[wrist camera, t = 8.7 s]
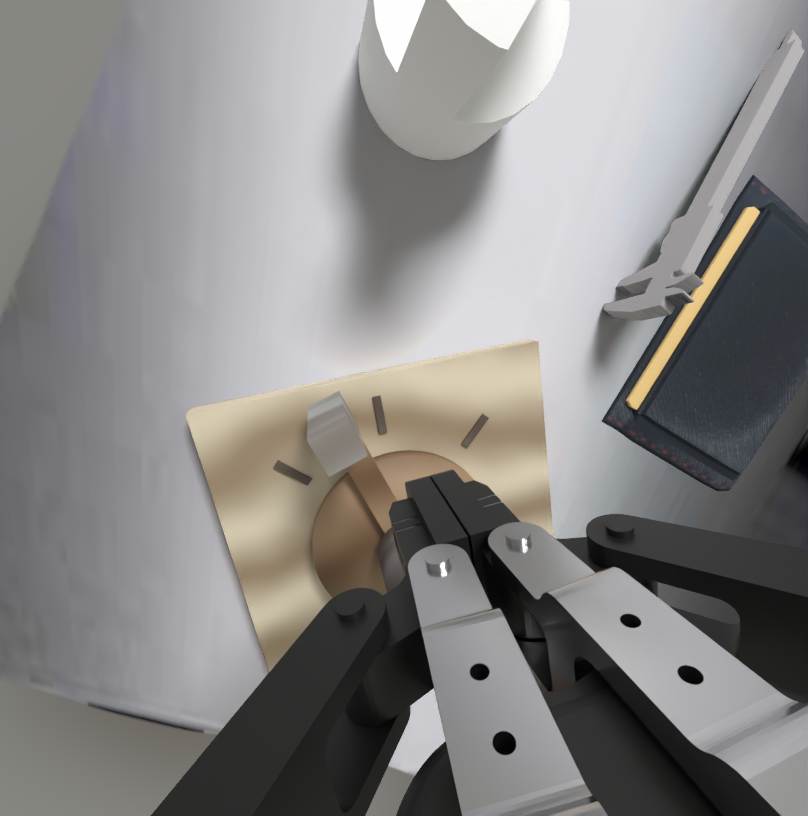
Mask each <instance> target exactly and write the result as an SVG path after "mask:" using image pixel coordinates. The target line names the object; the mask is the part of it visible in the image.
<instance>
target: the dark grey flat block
mask: <svg viewBox="0 0 808 816" xmlns="http://www.w3.org/2000/svg"><path fill="white" fill-rule="evenodd" d="M694 274H695V275H696V276H697V277H699V278H700V279H701V280H702V281H703V282H704V284H702V285H701V286H699V287H698V288H696V289H694V290H692V291H691V292H689V293H687V294H688V295H689V296H690V297H692V298H693V299H694V302H693V303H688V304H682V305H677V306H676V307H675V308H674V310H673V312H672V314H670V315H667V316H666V317H665V319H664V320H663V322H662V324H661V325H660V327H659V329H658V330H657V332H656V333H655V335H654V337H653V338H652V340H651V342H650V343H649V345H648V347H647V348H646V350H645V351H644V353H643V355H642V356H641V358H640V360H639V361H638V363H637V364H636V366H635V368H634V369H633V371H632V373H631V374H630V376H629V377H628V379H627V381H626V382H625V384H624V386H623V387H622V389H621V391H620V392H619V394H618V395H617V397H616V399H615V400H614V402H613V404H612V405H611V407H610V408H609V410H608V412H607V413H606V415H605V417H604V418H603V420H602V421H603V422H605V423H606V424H608V425H610V426H612V427H614V428H615V429H617V430H618V431H620V432H621V433H622V434H624V435H625V436H626V437H628V438H629V439H630V440H632V441H634V442H635V443H637V444H638V445H640V446H642V447H643V448H645V449H647V450H648V451H650V452H652V453H653V454H655V455H657V456H658V457H660V458H662V459H663V460H665V461H667V462H668V463H670V464H672V465H673V466H675V467H677V468H678V469H680V470H682V471H683V472H685V473H687V474H689V475H690V476H692V477H694V478H695V479H697V480H699V481H700V482H702V483H704V484H706V485H708V486H710V487H711V488H713V489H715V490H717V491H727V490H730V489H731V487H732V486H733V485H734V483H735V482H736V480H737V479H738V478H739V476H740V475H741V474H742V472H743V471H744V469H745V468H746V466H747V465H748V463H749V462H750V460H751V459H752V458H753V456H754V455H755V453H756V452H757V450H758V449H759V447H760V446H761V444H762V443H763V441H764V440H765V438H766V437H767V435H768V433H769V432H770V430H771V429H772V427H773V426H774V425H775V423H776V422H777V420H778V419H779V417H780V416H781V414H782V413H783V411H784V410H785V408H786V407H787V405H788V404H789V402H790V401H791V399H792V398H793V396H794V395H795V393H796V392H797V390H798V389H799V388H800V386H801V385H802V383H803V382H804V380H805V379H806V377H807V376H808V225H807V224H806V223H805V222H804V221H803V220H802V219H801V218H800V217H799V216H798V215H797V214H796V213H795V212H794V211H793V210H792V209H791V208H789V207H788V206H787V205H786V204H785V203H784V202H783V201H782V200H781V199H780V198H779V197H777V196H776V195H775V194H774V193H773V192H772V191H771V190H769V189H768V188H767V187H766V186H765V185H764V184H763V183H762V182H761V181H760V180H758V179H757V178H756V177H755V176H754V175H752V177H751V178H750V180H749V181H748V183H747V184H746V186H745V187H744V189H743V190H742V192H741V193H740V195H739V196H738V198H737V199H736V201H735V202H734V204H733V206H732V208H731V209H730V211H729V213H728V215H727V216H726V218H725V220H724V222H723V223H722V225H721V227H720V229H719V230H718V232H717V234H716V236H715V237H714V239H713V241H712V242H711V244H710V245H709V247H708V249H707V250H706V252H705V254H704V255H703V257H702V259H701V261H700V263H699V265H698V267H697V269H696V271H695V273H694Z"/></svg>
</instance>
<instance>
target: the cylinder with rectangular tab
mask: <svg viewBox="0 0 808 816" xmlns="http://www.w3.org/2000/svg"><path fill="white" fill-rule="evenodd" d="M568 26H569V0H368V2H367V7H366V12H365V17H364V22H363V27H362V33H361V39H360V47H359V56H358V66H359V76H360V85H361V89H362V91H363V94H364V97H365V100H366V103H367V106H368V109H369V111H370V112H371V114H372V116H373V117H374V119H375V121H376V122H377V124H378V126H379V127H380V129H381V130H382V131H383V132H384V133H385V134H386V135H387V136H388V137H389V138H390V139H391V140H392V141H393V142H394V143H395V144H396V145H397V146H399V147H401V148H402V149H404V150H406V151H408V152H409V153H411V154H413V155H415V156H418V157H422V158H426V159H430V160H451V159H455V158H458V157H461V156H463V155H466V154H469V153H471V152H472V151H474V150H475V149H476V148H478V147H479V146H480V145H482V144H483V143H484V142H486V141H487V140H488V139H489V138H490V137H492V136H493V135H494V134H495V133H496V132H497V131H499V130H500V129H501V128H502V127H503V126H504V125H505V124H507V123H508V122H509V121H510V120H511V119H512V118H514V117H515V116H516V115H517V114H518V113H519V112H521V111H522V110H523V109H524V108H525V107H526V106H528V105H529V104H530V103H531V102H532V101H533V100H534V99H536V97H537V96H538V95H539V93H540V92H541V91H542V89H543V88H544V87H545V86H546V84H547V83H548V82H549V80H550V79H551V78H552V75H553V73H554V71H555V69H556V66H557V64H558V62H559V60H560V57H561V55H562V53H563V50H564V45H565V40H566V35H567V30H568Z"/></svg>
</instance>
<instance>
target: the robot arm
mask: <svg viewBox="0 0 808 816" xmlns="http://www.w3.org/2000/svg"><path fill="white" fill-rule="evenodd" d="M405 489H406V494H407V499H403V500H399V501H396V502H392V505H391V508H390V510H389V517H390V521H391V526H392V530H393V535H394V539H395V544H396V548H397V553H398V557H399V560H400V563H401V566H402V569H403V572H404V575H405V577H404V578H403V580H402V581H401V582H400V583H399V585H398V586H396V587H395V588H394V589H393V590H391V591H390V592H388V593H386V594H385V595H383V596H382V595H381V594H380V593H379V592H377V591H375V590H373V589H370V588H355V589H351V590H347V591H345V592H342V593H340V594H338V595H337V596H335V597H333V598H332V599H331V600H330V601H328V603H327V604H326V605H325V606H324V607H323V608H322V609H321V611H320V612H319V613H318V614H317V615H316V617H315V618H314V619H313V620H312V621H311V623H310V624H309V625H308V626H307V627H306V629H305V630H304V631H303V632H302V634H301V635H300V636H299V637H298V638H297V640H296V641H295V642H294V643H293V644H292V646H291V647H290V648H289V649H288V650H287V652H286V653H285V654H284V655H283V657H282V658H281V659H280V660H279V661H278V663H277V664H276V665H275V666H274V667H273V669H272V670H271V671H270V672H269V673H268V675H267V676H266V677H265V678H264V679H263V681H262V682H261V683H260V684H259V686H258V687H257V688H256V689H255V690H254V692H253V693H252V694H251V695H250V696H249V698H248V699H247V700H246V701H245V702H244V704H243V705H242V706H241V707H240V708H239V710H238V711H237V712H236V713H235V715H234V716H233V717H232V718H231V719H230V721H229V722H228V723H227V724H226V725H225V727H224V728H223V729H222V730H221V731H220V733H219V734H218V735H217V736H216V738H215V739H214V740H213V741H212V742H211V744H210V745H209V746H208V747H207V748H206V750H205V751H204V752H203V753H202V754H201V756H200V757H199V758H198V759H197V761H196V762H195V763H194V764H193V765H192V767H191V768H190V769H189V770H188V771H187V773H186V774H185V775H184V776H183V777H182V779H181V780H180V781H179V782H178V783H177V785H176V786H175V787H174V789H172V791H171V792H170V793H169V794H168V796H167V797H166V798H165V799H164V800H163V802H162V803H161V804H160V805H159V807H158V808H157V809H156V810H155V811H154V813H153V814H152V815H151V816H365V815H366V812H367V810H368V808H369V806H370V804H371V801H372V799H373V797H374V795H375V793H376V791H377V788H378V786H379V784H380V782H381V780H382V777H383V775H384V773H385V771H386V769H387V767H388V765H389V762H390V760H391V758H392V756H393V754H394V751H395V749H396V747H397V745H398V743H399V741H400V738H401V736H402V734H403V732H404V730H405V728H406V725H407V723H408V720H409V717H410V705H411V704H413V703H414V702H416V701H417V700H418V699H420V698H421V697H422V696H424V695H425V694H426V693H428V692H429V691H430V690H432V689H433V688H434V690H435V695H436V699H437V704H438V708H439V713H440V717H441V722H442V727H443V731H444V736H445V740H446V742H444V743H443V744H442V745H441V746H440V747H439V748H438V749H437V750H435V751H434V752H433V753H432V755H431V756H430V757H429V758H428V759H427V760H426V762H425V763H424V764H423V765H422V767H421V768H420V769H419V771H418V772H417V774H416V775H415V777H414V778H413V780H412V782H411V784H410V786H409V787H408V789H407V791H406V794H405V795H404V798H403V800H402V802H401V805H400V807H399V810H398V812H397V815H396V816H808V550H805V549H800V548H795V547H790V546H785V545H779V544H774V543H769V542H764V541H759V540H754V539H748V538H743V537H738V536H733V535H728V534H723V533H717V532H712V531H707V530H702V529H697V528H692V527H686V526H681V525H676V524H671V523H666V522H661V521H655V520H650V519H645V518H640V517H635V516H630V515H623V514H609V515H603V516H600V517H597V518H595V519H593V520H591V521H590V522H589V523H588V525H587V527H586V534H587V537H583V538H569V539H555V538H554V537H553V536H552V535H551V534H549V533H548V532H547V531H546V530H545V529H543V528H542V527H540V526H538V525H535V524H532V523H527V522H520V521H519V519H518V518H517V517H516V516H515V515H514V514H513V513H512V512H511V511H510V510H509V509H508V507H507V506H506V505H505V504H504V503H503V502H501V500H500V499H499V498H498V497H497V496H495V493H494V492H493V491H492V490H491V489H490V488H489V487H488V486H487V485H485V484H482V483H480V482H478V481H475V480H473V481H469V482H465V483H464V482H463V481H462V479H461V478H460V477H459V476H458V474H457V473H456V472H455V471H454V470H453V469H452V470H448V471H444V472H441V473H437V474H433V475H430V476H426V477H422V478H418V479H415V480H411V481H407V482H405ZM658 582H660V583H664V584H667V585H671V586H674V587H678V588H682V589H685V590H689V591H693V592H696V593H700V594H704V595H707V596H711V597H714V598H718V599H721V600H723V601H725V602H727V603H728V604H730V605H731V606H732V607H733V608H734V609H735V610H736V611H737V613H738V614H739V617H740V623H737V624H727V623H723V622H720V621H717V620H713V619H710V618H707V617H704V616H700V615H697V614H694V613H690V612H687V611H684V610H680V609H677V608H674V607H670V606H668V605H667V604H665V603H664V602H663V601H662V600H660V599H659V598H658Z"/></svg>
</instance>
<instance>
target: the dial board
mask: <svg viewBox="0 0 808 816" xmlns="http://www.w3.org/2000/svg"><path fill="white" fill-rule="evenodd" d="M338 391H340V393H341V395H342V397H343V399H344V400H345V402H346V404H347V406H348V408H349V409H350V411H351V413H352V415H353V417H354V418H355V420H356V423H357V426H358V429H359V432H360V435H361V438H362V439H363V441H364V443H365V445H366V447H367V448H368V450H369V452H370V454H371V455H372V457H376V456H379V455H382V454H385V453H390V452H395V451H406V450H413V451H424V452H429V453H434V454H437V455H440V456H443V457H445V458H447V459H449V460H451V461H453V462H454V463H456V464H457V465H459V466H460V467H462V468H463V469H464V470H465V471H466V472H467V473H468V474H469V475H470V476H471V477H472V478H473V480H475V481H478V482H480V483H482V484H485V485H487V486H488V487H489V488H490V489H491V490H492V491H493V492H494V493H495V496H497V497H498V498H499V499H500V500H501V502H503V503H504V504H505V505H506V506H507V507H508V509H509V510H510V511H511V512H512V513H513V514H514V515H515V516H516V517H517V518H518V519H519V521H520V522H527V523H532V524H535V525H538V526H540V527H542V528H543V529H545V530H546V531H547V532H548V533H549V534H551V535H552V536H553V528H552V515H551V502H550V489H549V476H548V463H547V450H546V437H545V424H544V411H543V398H542V385H541V372H540V359H539V346H538V341H533V340H529V339H526V340H521V341H516V342H511V343H506V344H502V345H497V346H492V347H487V348H482V349H477V350H472V351H467V352H462V353H457V354H453V355H448V356H443V357H438V358H433V359H428V360H423V361H418V362H413V363H409V364H404V365H399V366H394V367H389V368H384V369H379V370H374V371H369V372H364V373H360V374H355V375H350V376H345V377H340V378H335V379H330V380H325V381H320V382H316V383H311V384H306V385H301V386H296V387H291V388H286V389H281V390H276V391H272V392H267V393H262V394H257V395H252V396H247V397H242V398H237V399H232V400H227V401H223V402H218V403H213V404H208V405H203V406H198V407H193V408H191V409H190V410H189V411H188V412H187V413H186V414H185V415H186V418H187V421H188V424H189V427H190V430H191V433H192V436H193V440H194V443H195V446H196V449H197V452H198V455H199V458H200V461H201V464H202V467H203V470H204V473H205V476H206V479H207V482H208V486H209V489H210V492H211V495H212V498H213V501H214V504H215V507H216V510H217V513H218V516H219V519H220V522H221V525H222V529H223V532H224V535H225V538H226V541H227V544H228V547H229V550H230V553H231V556H232V559H233V562H234V565H235V568H236V571H237V575H238V578H239V581H240V584H241V587H242V590H243V593H244V596H245V599H246V602H247V605H248V608H249V611H250V614H251V618H252V621H253V624H254V627H255V630H256V633H257V636H258V639H259V642H260V645H261V648H262V651H263V654H264V657H265V660H266V664H267V667H268V670H269V672H270V671H271V670H272V669H273V667H274V666H275V665H276V664H277V663H278V661H279V660H280V659H281V658H282V657H283V655H284V654H285V653H286V652H287V650H288V649H289V648H290V647H291V646H292V644H293V643H294V642H295V641H296V640H297V638H298V637H299V636H300V635H301V634H302V632H303V631H304V630H305V629H306V627H307V626H308V625H309V624H310V623H311V621H312V620H313V619H314V618H315V617H316V615H317V614H318V613H319V612H320V611H321V609H322V608H323V607H324V606H325V605H326V604H327V603H328V601H330V600H331V599H332V597H331V596H330V594H329V593H328V592H327V591H326V589H325V588H324V586H323V585H322V583H321V581H320V579H319V577H318V575H317V572H316V569H315V565H314V560H313V549H312V537H313V527H314V523H315V519H316V515H317V513H318V510H319V508H320V505H321V504H322V502H323V500H324V498H325V497H326V495H327V494H328V492H329V491H330V490H331V488H332V487H333V486H334V485H335V484H336V483H337V482H338V480H339V479H340V478H341V477H343V476H344V475H345V474H346V473H347V472H348V470H347V469H346V468H345V469H343V470H341V471H339V472H337V473H335V474H334V475H332V476H330V477H329V476H328V475H327V473H326V471H325V470H324V468H323V466H322V465H321V463H320V462H319V460H318V458H317V457H316V455H315V453H314V452H313V450H312V448H311V447H310V445H309V444H308V442H307V424H308V407H309V406H311V405H313V404H315V403H317V402H319V401H321V400H322V399H324V398H326V397H328V396H330V395H332V394H334V393H336V392H338Z"/></svg>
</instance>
